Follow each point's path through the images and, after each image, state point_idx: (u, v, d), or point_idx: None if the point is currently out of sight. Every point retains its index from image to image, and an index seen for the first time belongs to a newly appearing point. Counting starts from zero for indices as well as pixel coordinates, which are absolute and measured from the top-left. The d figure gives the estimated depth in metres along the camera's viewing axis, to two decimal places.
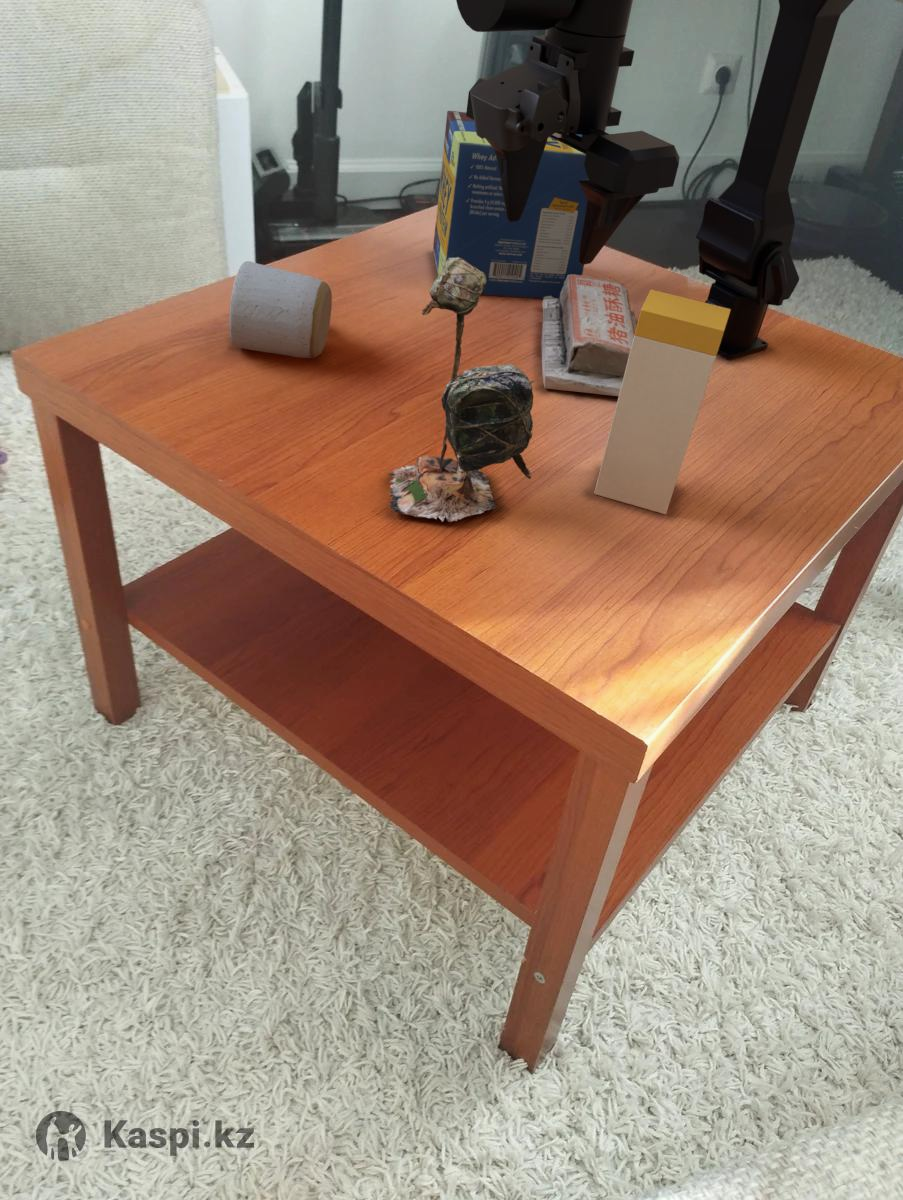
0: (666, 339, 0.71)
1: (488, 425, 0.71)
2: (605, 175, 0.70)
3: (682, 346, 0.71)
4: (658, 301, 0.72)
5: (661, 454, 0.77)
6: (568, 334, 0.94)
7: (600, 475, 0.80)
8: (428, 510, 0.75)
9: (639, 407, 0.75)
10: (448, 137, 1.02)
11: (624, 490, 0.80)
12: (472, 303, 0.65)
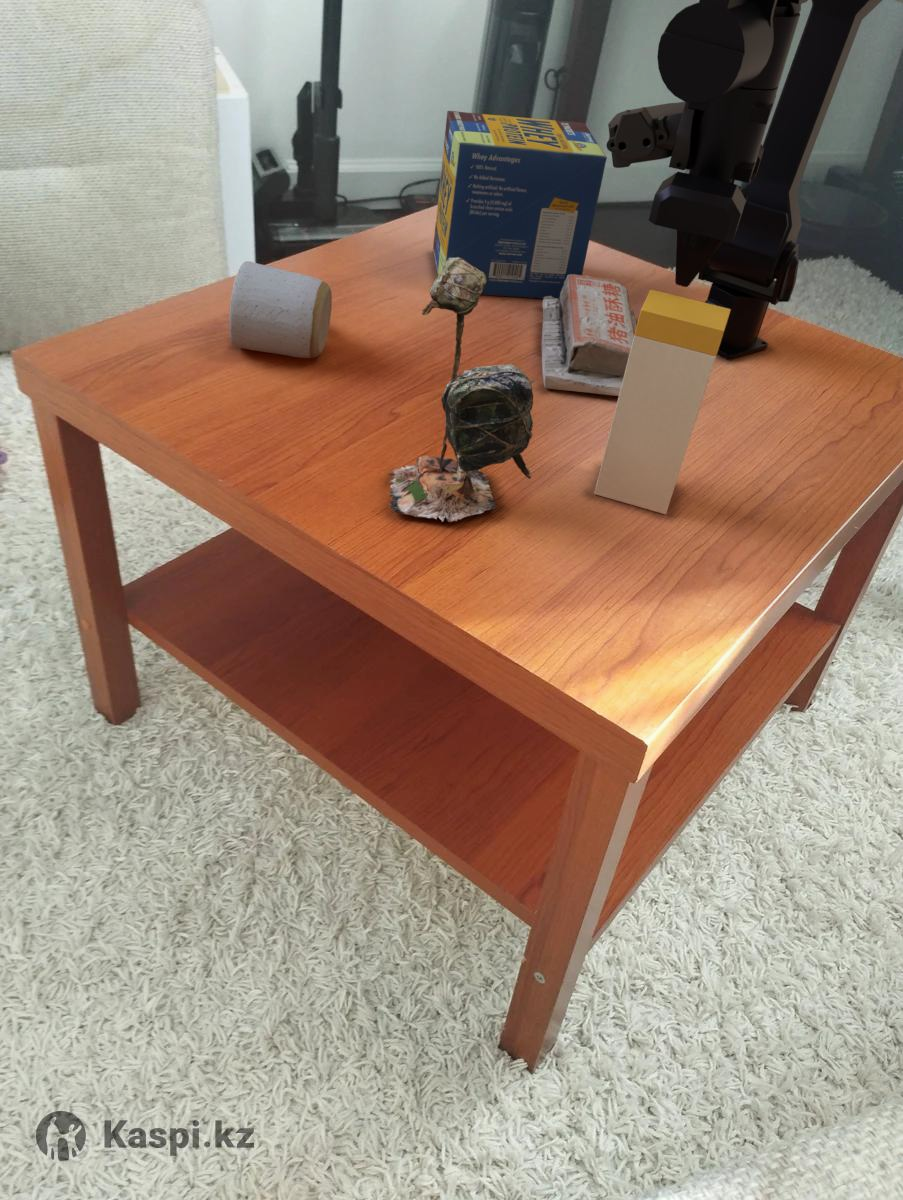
0: (666, 339, 0.71)
1: (488, 425, 0.71)
2: None
3: (682, 346, 0.71)
4: (658, 301, 0.72)
5: (661, 454, 0.77)
6: (568, 334, 0.94)
7: (600, 475, 0.80)
8: (428, 510, 0.75)
9: (639, 407, 0.75)
10: (448, 137, 1.02)
11: (624, 490, 0.80)
12: (472, 303, 0.65)
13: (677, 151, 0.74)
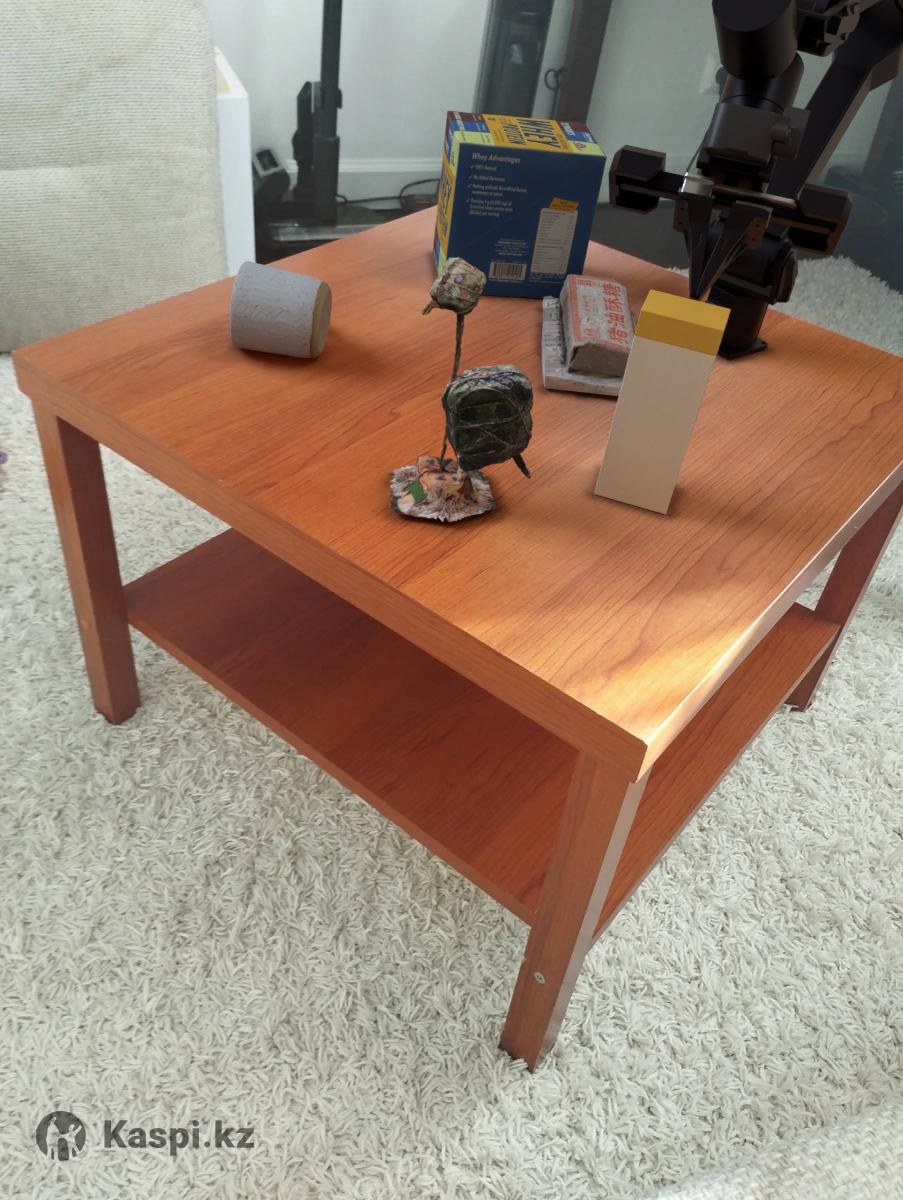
0: (666, 339, 0.71)
1: (488, 425, 0.71)
2: (829, 206, 0.75)
3: (682, 346, 0.71)
4: (658, 301, 0.72)
5: (661, 454, 0.77)
6: (568, 334, 0.94)
7: (600, 475, 0.80)
8: (428, 510, 0.75)
9: (639, 407, 0.75)
10: (448, 137, 1.02)
11: (624, 490, 0.80)
12: (472, 303, 0.65)
13: (775, 163, 0.77)
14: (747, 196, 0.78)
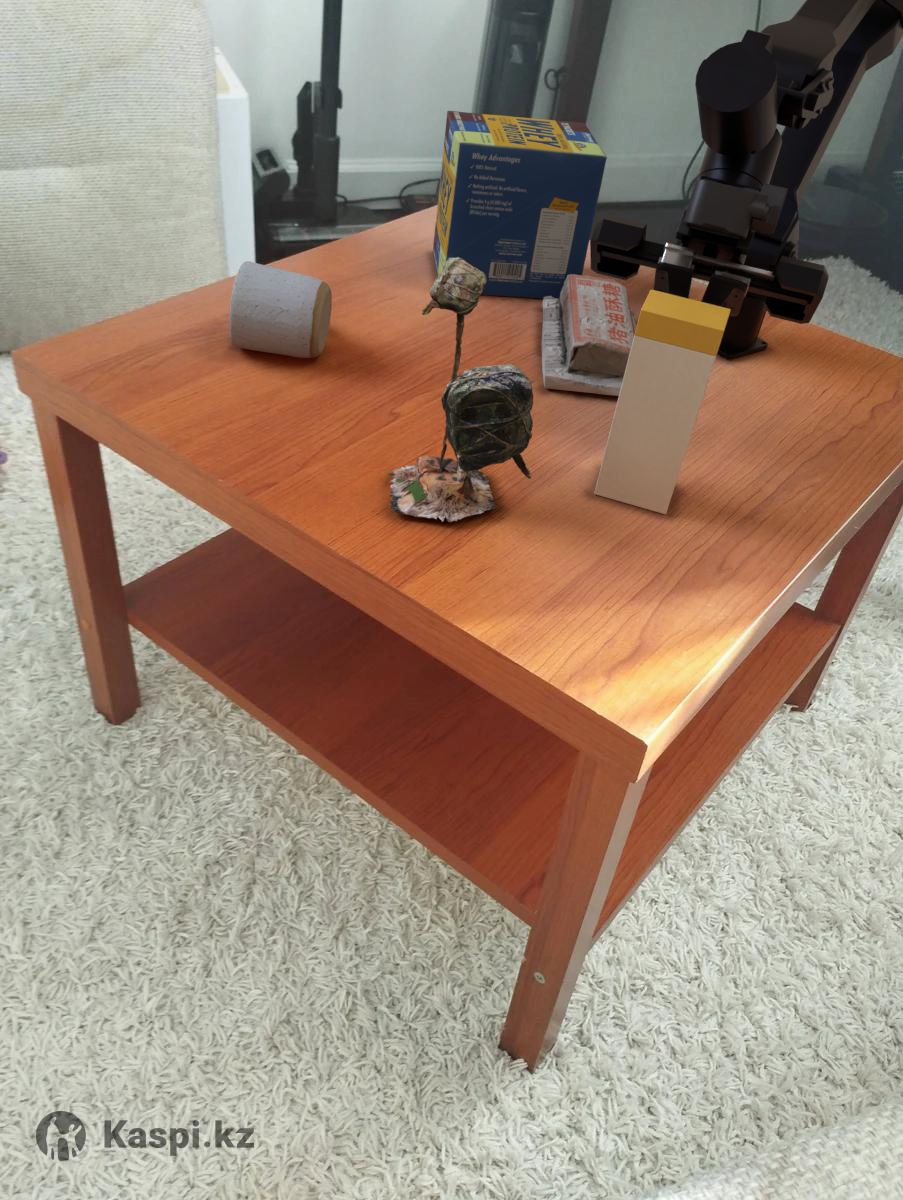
0: (666, 339, 0.71)
1: (488, 425, 0.71)
2: (806, 280, 0.77)
3: (682, 346, 0.71)
4: (658, 301, 0.72)
5: (661, 454, 0.77)
6: (568, 334, 0.94)
7: (600, 475, 0.80)
8: (428, 510, 0.75)
9: (639, 407, 0.75)
10: (448, 137, 1.02)
11: (624, 490, 0.80)
12: (472, 303, 0.65)
13: (753, 236, 0.78)
14: (726, 267, 0.79)
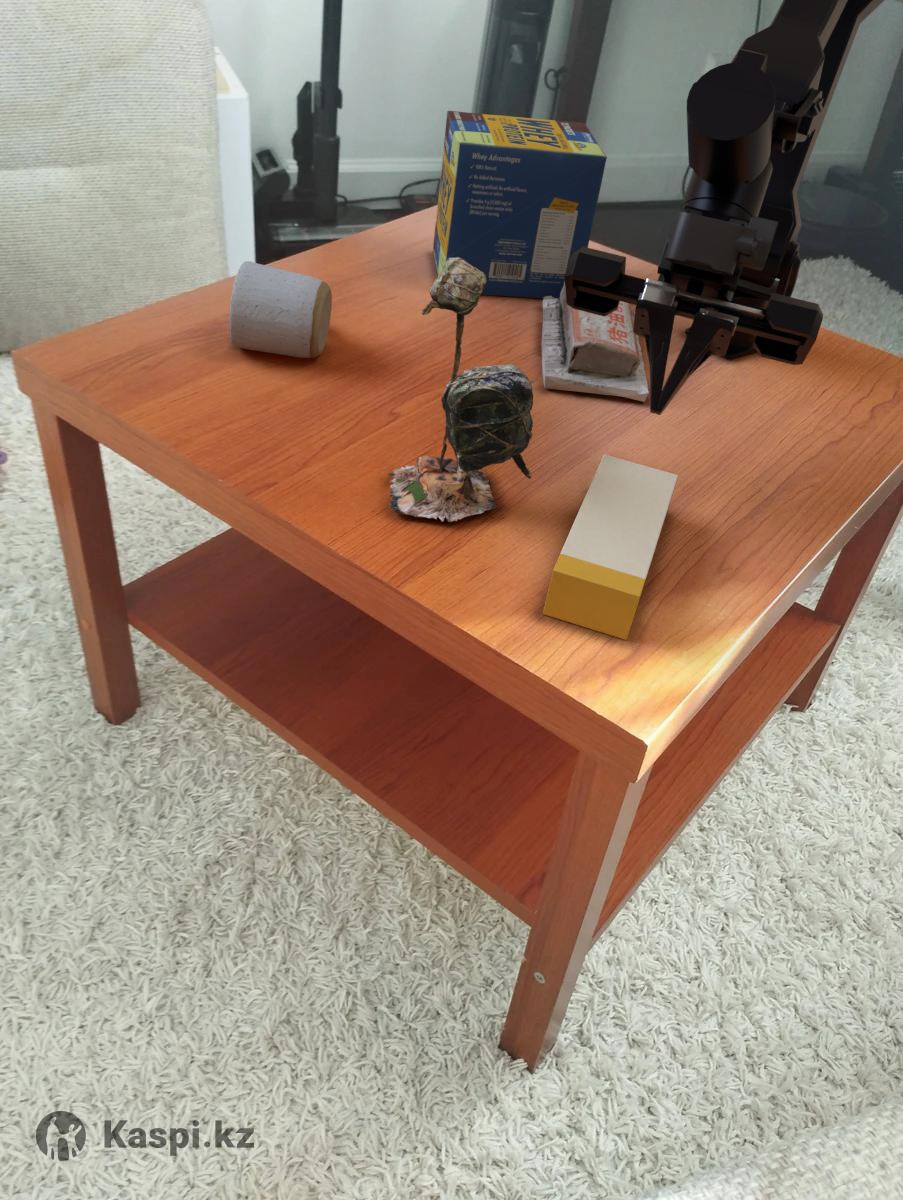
0: None
1: (488, 425, 0.71)
2: (798, 320, 0.70)
3: None
4: (560, 594, 0.67)
5: None
6: (568, 334, 0.94)
7: None
8: (428, 510, 0.75)
9: None
10: (448, 137, 1.02)
11: None
12: (472, 303, 0.65)
13: (741, 272, 0.72)
14: (711, 304, 0.73)
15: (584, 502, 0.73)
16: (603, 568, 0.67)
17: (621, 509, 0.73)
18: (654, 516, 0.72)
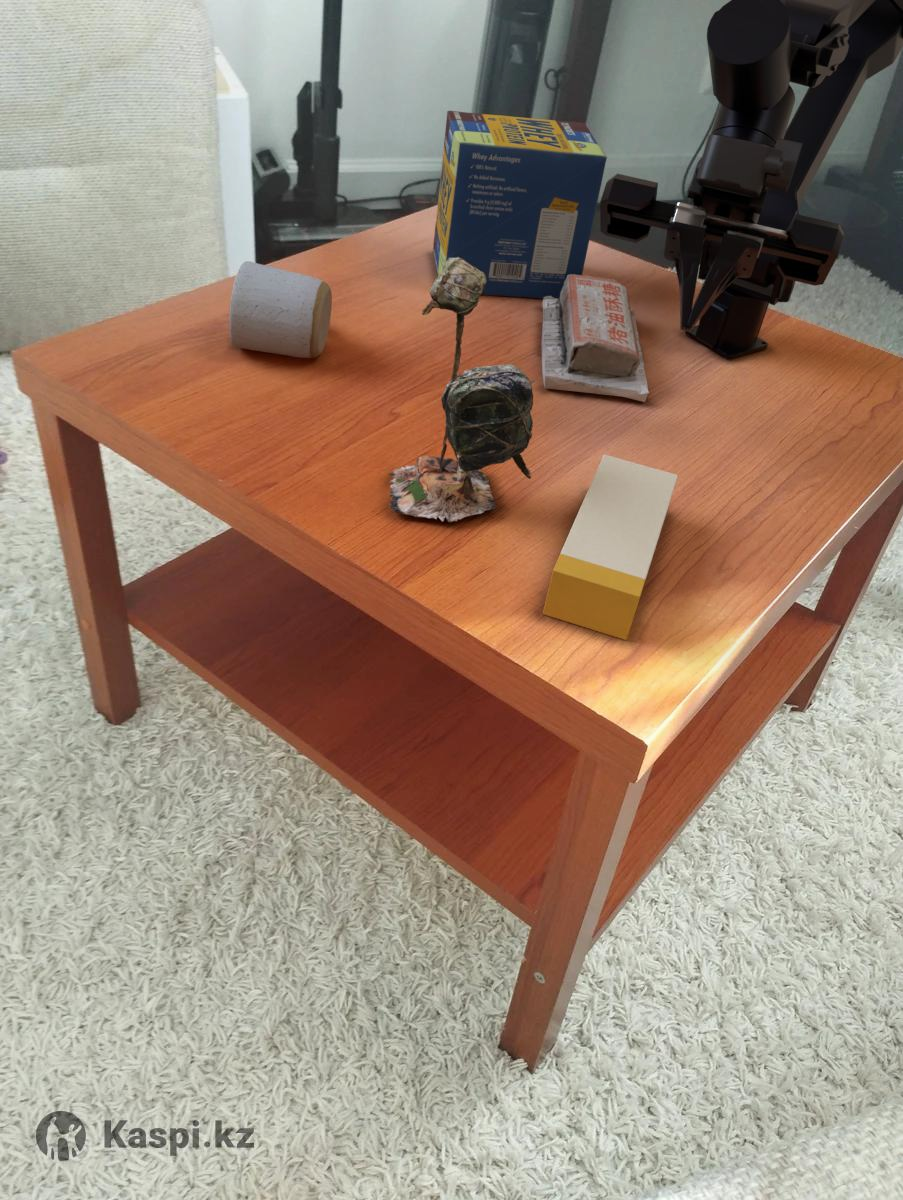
0: None
1: (488, 425, 0.71)
2: (821, 238, 0.75)
3: None
4: (560, 594, 0.67)
5: None
6: (568, 334, 0.94)
7: None
8: (428, 510, 0.75)
9: None
10: (448, 137, 1.02)
11: None
12: (472, 303, 0.65)
13: (766, 195, 0.77)
14: (738, 226, 0.78)
15: (584, 502, 0.73)
16: (603, 568, 0.67)
17: (621, 509, 0.73)
18: (654, 516, 0.72)
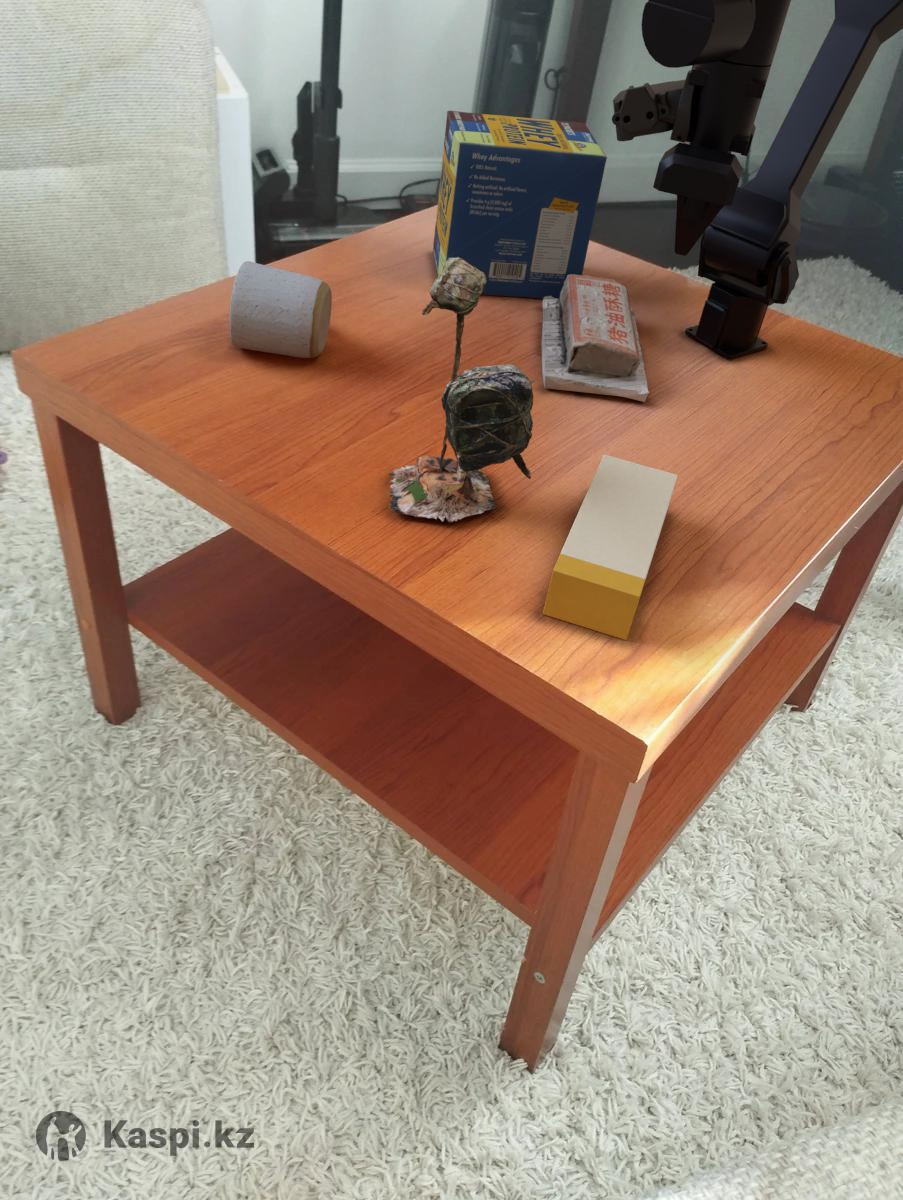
0: None
1: (488, 425, 0.71)
2: None
3: None
4: (560, 594, 0.67)
5: None
6: (568, 334, 0.94)
7: None
8: (428, 510, 0.75)
9: None
10: (448, 137, 1.02)
11: None
12: (472, 303, 0.65)
13: (678, 124, 0.79)
14: None
15: (584, 502, 0.73)
16: (603, 568, 0.67)
17: (621, 509, 0.73)
18: (654, 516, 0.72)
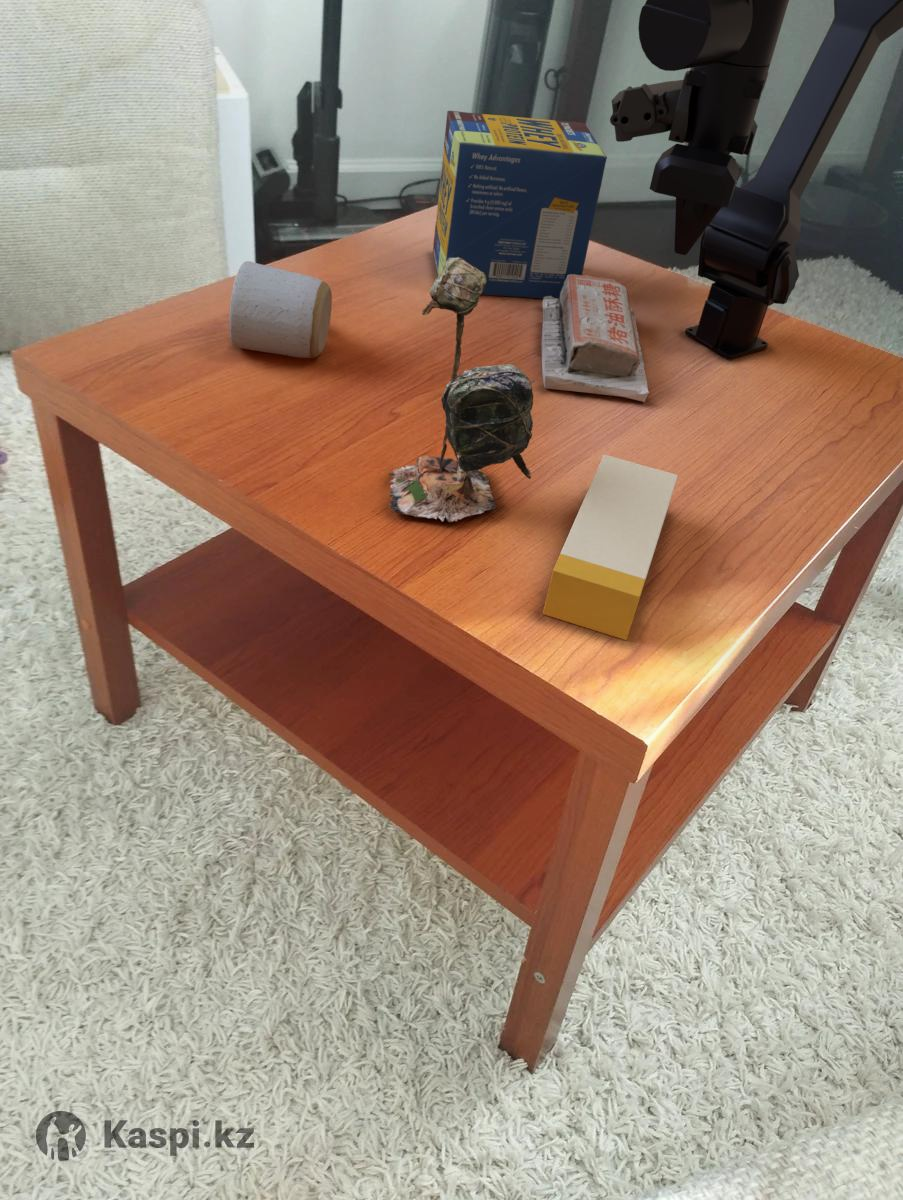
0: None
1: (488, 425, 0.71)
2: None
3: None
4: (560, 594, 0.67)
5: None
6: (568, 334, 0.94)
7: None
8: (428, 510, 0.75)
9: None
10: (448, 137, 1.02)
11: None
12: (472, 303, 0.65)
13: (676, 125, 0.79)
14: None
15: (584, 502, 0.73)
16: (603, 568, 0.67)
17: (621, 509, 0.73)
18: (654, 516, 0.72)
